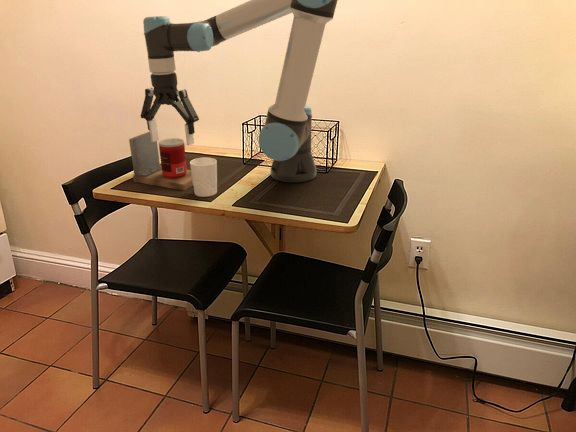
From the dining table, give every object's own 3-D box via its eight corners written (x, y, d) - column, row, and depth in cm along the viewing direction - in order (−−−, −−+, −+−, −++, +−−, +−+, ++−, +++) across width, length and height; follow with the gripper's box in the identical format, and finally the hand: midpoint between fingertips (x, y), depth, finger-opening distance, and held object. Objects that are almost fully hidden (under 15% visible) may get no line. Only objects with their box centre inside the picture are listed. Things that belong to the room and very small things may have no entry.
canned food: (189, 171, 163) (186, 138, 159) (182, 179, 156) (179, 145, 151) (167, 170, 164) (163, 138, 159) (159, 178, 156) (155, 145, 152)
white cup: (198, 199, 146) (195, 167, 142) (188, 191, 152) (185, 160, 148) (223, 194, 150) (221, 162, 145) (212, 186, 156) (210, 155, 152)
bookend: (167, 166, 167) (163, 132, 162) (145, 177, 158) (140, 140, 153) (156, 165, 169) (151, 130, 164) (134, 175, 160) (129, 139, 155)
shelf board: (206, 178, 162) (205, 172, 162) (184, 190, 153) (184, 184, 152) (157, 170, 170) (156, 164, 169) (133, 181, 160) (132, 175, 160)
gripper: (205, 71, 145) (212, 142, 153) (138, 69, 155) (148, 136, 163) (190, 75, 139) (199, 149, 147) (121, 73, 148) (133, 142, 157)
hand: (172, 142), depth 155 cm, fingers open, 13 cm apart
